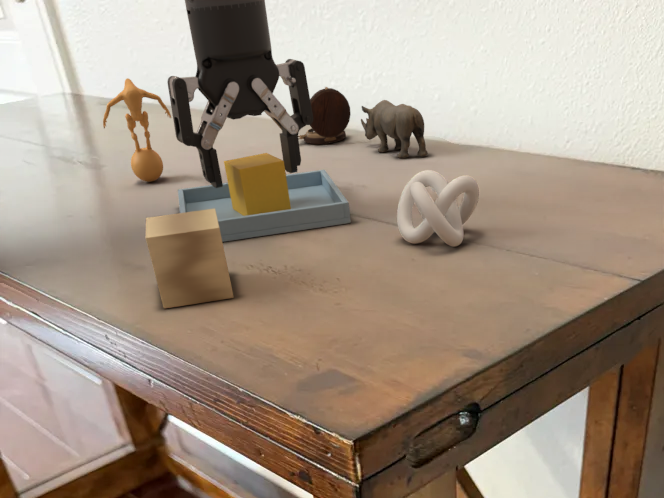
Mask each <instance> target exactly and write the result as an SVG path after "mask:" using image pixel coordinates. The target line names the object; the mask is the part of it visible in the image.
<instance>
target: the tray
mask: <svg viewBox="0 0 664 498" xmlns="http://www.w3.org/2000/svg"><path fill="white" fill-rule="evenodd" d="M286 179H287V186H288V192H289V199H290V206H291V209H288V210H281V211H274V212H267V213H260V214H253V215H246V216H243V215H242V214H240V213H238V212H237V211H235V210H234V209H233V207H232V201H231V196H230V191H229V186H228V182H222V183H223V187H219V188H215V187H213V186H212V185H211V184H208V185H200V186H193V187H185V188H179V189H177V196H178V198H177V199H178V206H179V207H178V208H179V209H178V210H179V213H185V212H192V211H200V210H207V209H214V208H215V210H216V215H217V219H218V223H219V228H220V233H221V238H222V243H223V242H224V243H225V242H231V241H239V240H245V239H251V238H257V237H265V236H273V235H277V234H278V235H279V234H285V233H292V232H293V233H294V232H299V231H305V230H311V229H313V230H314V229H319V228H325V227H332V226H339V225H347V224H351V222H352V221H351V211H350V203H349V201H348V199H347V198H346V197H345V196H344V194H343V193H342V191H341V190H340V189H339V187H338V186H337V185H336V183H335V181H334V180H333V179H332V178H331V176H330V175H329V173H328V172H327V171H326V169H318V170H310V171H302V172H295V173H289V174H288V173H286Z"/></svg>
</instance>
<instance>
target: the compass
mask: <svg viewBox="0 0 664 498" xmlns="http://www.w3.org/2000/svg"><path fill="white" fill-rule="evenodd" d="M310 102H311V108H312V113H313V122H312V124H310V125H309V127H310V128H309V129H307V131H306V132H305V133H304V134H300V135H298V140H303V141H304V142H305V143H307V144H311V145H325V144H333V143H337V142H340V141H343V140H344V139H345V138H346V137H347V136H346V129H347V127H348V125H349V123H350V121H351V120H350V119H351V116H352V115H351V106H350V103H349V100H348V99H347V98H346V96H345V95H344V94H343V93H342V92H340V91H339V90H338V89H334V88H332V87H331V88H330V87H328V86H325V87H324V88H321V89H319V90H318V91H316V92H315V93H313V95H312V96H311V97H310Z"/></svg>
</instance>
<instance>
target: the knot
mask: <svg viewBox="0 0 664 498" xmlns="http://www.w3.org/2000/svg"><path fill="white" fill-rule="evenodd" d="M427 187H430V188H431V189H432V190H433V191H434V192H435V193H436V195H437V197H436V198H435V200H433V198H432V197H431V194H430V193H429V191H428V190H427ZM461 195H463V198H462V200H461V202H460V204H459V206H458V202H457V199H458V197H460V196H461ZM479 198H480V187H479V183H478V181H477V180H476V179H475V178H474V177H473V176H470V175H466V174H465V175H459V176H457V177H455V178H454V179H452V180H450V181H449V182H448V180H447V179H446V178H445V177H444V175H442V174H441V173H439V172H438V171H436V170H433V169H424V170H421V171H419V172H417V173H416V174H414V175H413V176H412V177H411V178H410V179H409V180H408V181H407V183H406V184H405V186H404V188H403V189H402V192H401V194H400V197H399V200H398V202H397V208H396V209H397V210H396V225H397V228H398V232H399V234H400V236H401V238H403V239H404V240H405V241H406V242H408V243H409V244H414V245H415V244H416V245H417V244H421V243H423V242H425V241H426V240H428V239H429V238H430V237H431V236H432V235H433V234H434V233H436V235H437V236H438V237H439V238H440V240H441V241H442V242H444V243H445V244H446V245H448V246H450V247H459V246H460V245H461V244H462V242H463V240H464V233H465V232H464V226H463V225H464V224H465V223H466V222H467V221H468V220H469V219H470V217H471V216H472V215H473V213H474V212H475V209H476V207H477V205H478V203H479ZM414 205H415V207H416V208H417V211H418V213H419V215H420V216H421V219H422V222H421V223H420V224H419V225H418V226H416V227H415V226H414V225H413V218H412V216H413V208H414Z"/></svg>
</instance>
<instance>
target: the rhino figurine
mask: <svg viewBox="0 0 664 498" xmlns="http://www.w3.org/2000/svg"><path fill="white" fill-rule="evenodd" d="M361 111H362V112H363V113H364V114H366V115H367V116H368V118H367V117H366V118H365V120H366V121H364V120H363V119H362V118H360V124H361V126H362V128H363V130H364V136H365V137H366V139H367V140H369V141H370V140H373V139H375V138H376V137H378V138H379V140H380V146H379V147H378V153H387V152H388V151H389V150H390V149H389V148H390V147H389V145H388V137H389V138H391V139H393V140H394V143H395V145H394V150H397V151H398V150H400V151H399V152H398V153H397V157H398V158H399V159H402V158H403V159H404V158H408V157H410V153H409V148H410V146H411V137H412V134H413V137H414V139H415V140H416V142H417V145H418V150H417V153H416V156H417V157H422V158H423V157H426V156H428V155H429V152H428V150H427V147H426V140H425V136H424V135H425V120H424V117H423V115H422V113H421V112H420V111H419V110H418V109H417V108H416V107H413V106H412V105H407V104H404V103H401V104H399V105H395V104H394V103H392V102H391V101H389V100H387V99H382V100H380V101H379V102H378V103H376V104H375V106H374V107H372V108H368V107H366V106H364V105H361Z"/></svg>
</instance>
